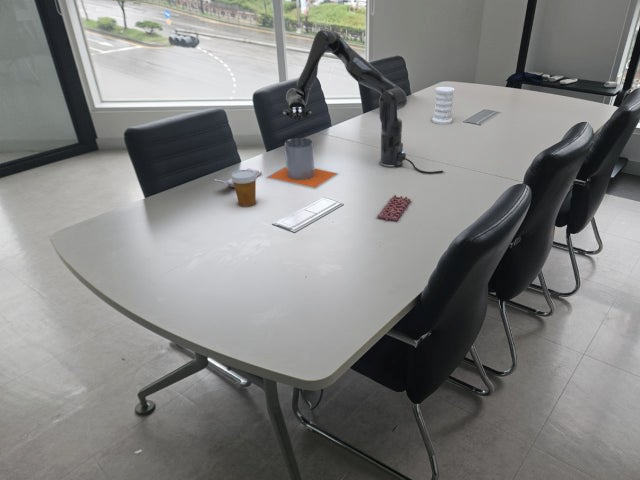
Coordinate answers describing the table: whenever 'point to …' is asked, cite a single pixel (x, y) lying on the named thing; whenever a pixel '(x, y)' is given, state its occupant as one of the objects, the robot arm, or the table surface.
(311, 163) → the crock
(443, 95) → the decorative container
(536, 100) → the table surface
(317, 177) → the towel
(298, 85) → the robot arm
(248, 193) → the disposable coffee cup
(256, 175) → the grey white handled utensil
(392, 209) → the red flat knobbed bar
